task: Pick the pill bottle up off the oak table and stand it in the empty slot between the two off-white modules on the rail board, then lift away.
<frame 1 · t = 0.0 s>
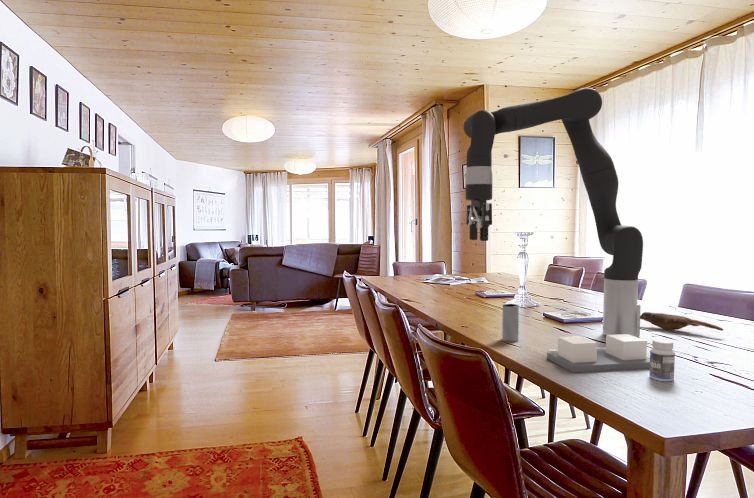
hand: (478, 240, 141), 29 cm above the table, fingers open, 8 cm apart
bird sculpture: (676, 332, 155), on the table
rail board: (601, 362, 121), on the table
pill bottle: (661, 379, 109), on the table
planter: (510, 340, 144), on the table
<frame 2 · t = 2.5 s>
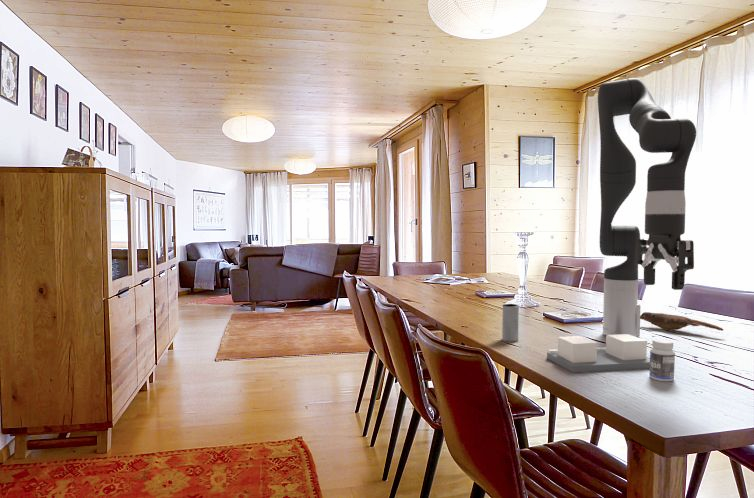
hand: (662, 287, 108), 20 cm above the table, fingers open, 8 cm apart
nothing on the table moved.
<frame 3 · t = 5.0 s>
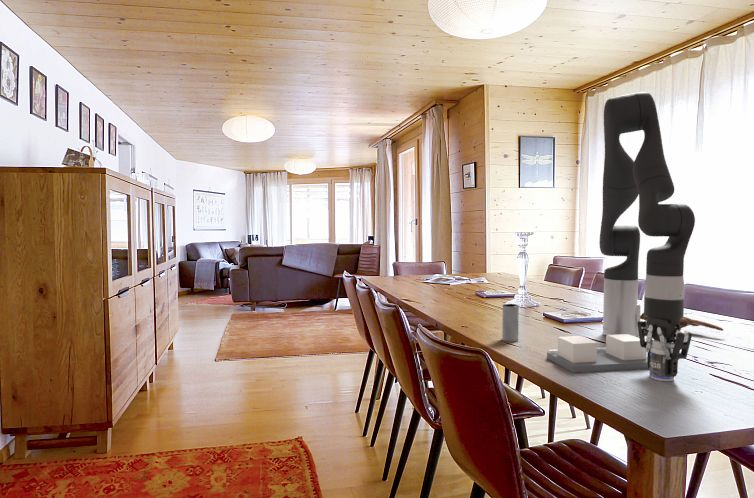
hand: (661, 372, 109), 1 cm above the table, fingers closed on pill bottle, 4 cm apart
pill bottle: (661, 379, 109), on the table, touching gripper
everything else where it was.
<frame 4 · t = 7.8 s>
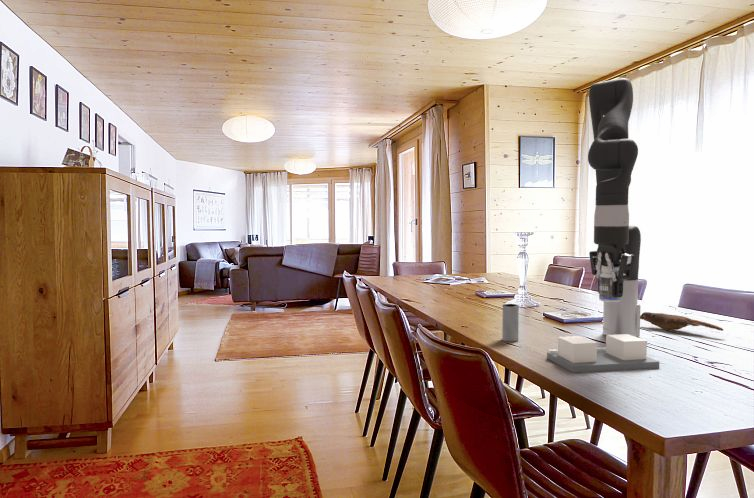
hand: (609, 295, 119), 17 cm above the table, fingers closed on pill bottle, 4 cm apart
pill bottle: (609, 301, 119), point 15 cm above the table, touching gripper
everything else where it was.
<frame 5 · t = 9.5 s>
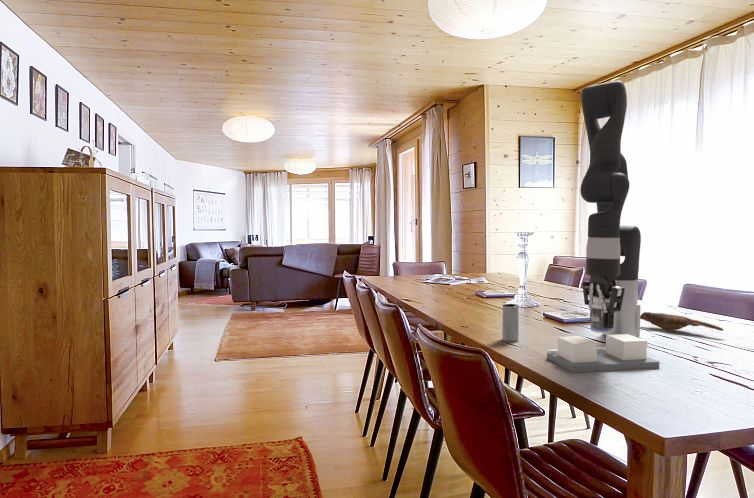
hand: (601, 325, 120), 9 cm above the table, fingers closed on pill bottle, 4 cm apart
pill bottle: (601, 332, 120), point 8 cm above the table, touching gripper
everything else where it was.
when the fingers open (4 cm above the table, at t = 10.9 s): pill bottle drops 1 cm, resting on rail board.
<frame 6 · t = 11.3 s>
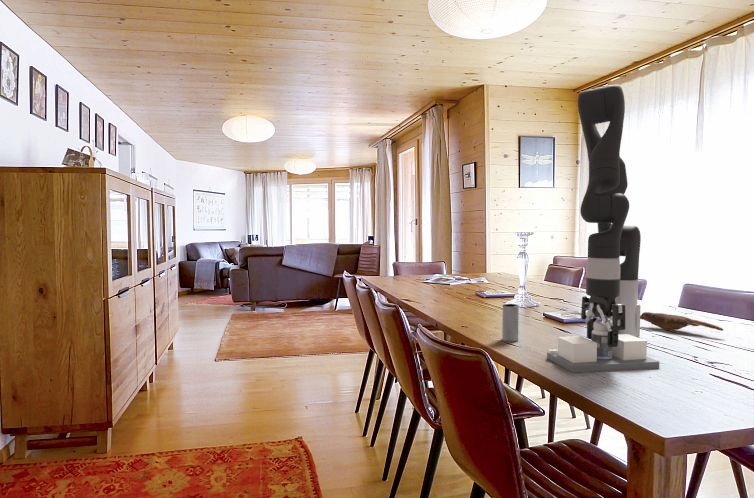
hand: (601, 342, 120), 5 cm above the table, fingers open, 8 cm apart
pill bottle: (601, 357, 120), point 1 cm above the table, touching rail board
everything else where it was.
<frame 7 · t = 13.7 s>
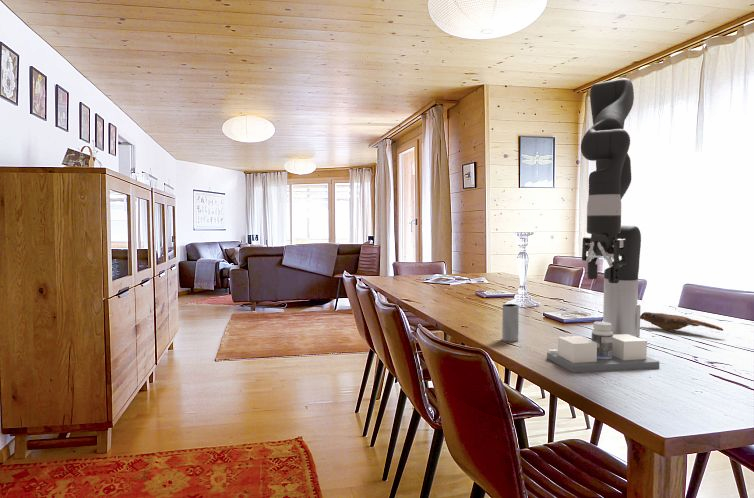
hand: (602, 280, 120), 20 cm above the table, fingers open, 8 cm apart
nothing on the table moved.
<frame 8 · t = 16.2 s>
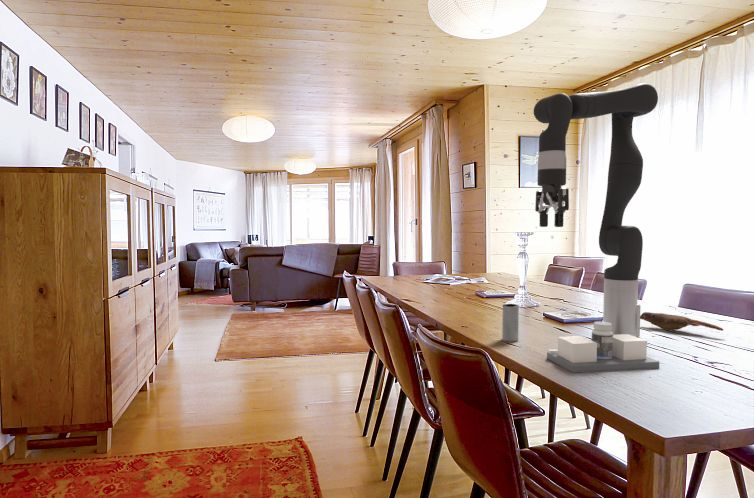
hand: (550, 226, 138), 33 cm above the table, fingers open, 8 cm apart
nothing on the table moved.
at the end: pill bottle 0.1 cm off-centre on the rail board, point 1.3 cm above the rail board's base; pill bottle tilted 0°; the gripper is holding nothing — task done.
